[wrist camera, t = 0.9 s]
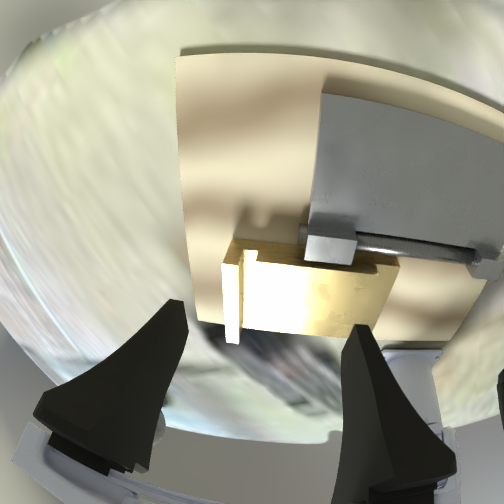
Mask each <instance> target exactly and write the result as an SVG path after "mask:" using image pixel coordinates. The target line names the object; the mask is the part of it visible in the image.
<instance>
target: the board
mask: <svg viewBox="0 0 504 504" xmlns="http://www.w3.org/2000/svg"><path fill="white" fill-rule="evenodd" d="M175 80H176V113H177V134H178V151H179V165H180V178H181V190H182V201H183V211H184V220H185V230H186V238H187V247H188V255H189V262H190V270H191V277H192V284H193V291H194V298H195V304H196V311H197V317H198V320H200V321H206V322H212V323H219V324H225V310H224V293H223V274H222V263H223V260H224V258H225V255H226V252H227V250H228V247H229V245H230V242H231V240H232V238H235V239H244V240H254V241H263V242H272V243H282V244H291V245H297V239H298V229H299V223H304V224H307V217H308V210H309V203H310V195H311V187H312V178H313V170H314V161H315V152H316V142H317V132H318V121H319V110H320V98H321V92H324V93H331V94H338V95H344V96H350V97H356V98H361V99H367V100H372V101H376V102H381V103H385V104H390V105H394V106H398V107H402V108H406V109H410V110H413V111H417V112H421V113H424V114H427V115H431V116H434V117H437V118H440V119H443V120H446V121H449V122H452V123H455V124H458V125H461V126H463V127H466V128H469V129H471V130H474V131H476V132H479V133H481V134H484V135H486V136H488V137H491V138H493V139H495V140H497V141H500V142H502V143H504V113H502V112H500V111H498V110H496V109H494V108H492V107H490V106H488V105H486V104H484V103H482V102H479V101H477V100H475V99H473V98H470V97H468V96H466V95H463V94H461V93H458V92H456V91H453V90H451V89H448V88H445V87H443V86H440V85H437V84H434V83H431V82H428V81H425V80H422V79H419V78H415V77H412V76H409V75H405V74H402V73H398V72H394V71H390V70H386V69H382V68H378V67H373V66H368V65H364V64H359V63H353V62H348V61H342V60H335V59H328V58H321V57H312V56H302V55H291V54H274V53H217V54H201V55H189V56H179V57H175ZM300 246H304V245H300ZM503 248H504V246H503ZM503 248H502V250H501V252H500V253H502V251H503ZM355 252H356V251H355ZM361 253H365V252H361ZM369 254H373V253H369ZM378 255H381V254H378ZM386 256H389V255H386ZM394 257H397V259H398V261H399V264H400V266H401V267H400V270H399V273H398V275H397V278H396V280H395V282H394V285H393V287H392V290H391V292H390V294H389V297H388V299H387V301H386V303H385V306H384V308H383V310H382V312H381V314H380V317H379V319H378V321H377V323H376V325H375V327H374V329H373V331H372V333H373V336H374V338H375V340H402V341H450V339H451V338H452V337H453V335H454V334H455V332H456V331H457V329H458V328H459V326H460V325H461V324H462V322H463V320H464V319H465V317H466V316H467V314H468V313H469V311H470V310H471V308H472V306H473V305H474V303H475V301H476V300H477V298H478V296H479V295H480V293H481V291H482V289H483V288H484V286H485V284H486V282H487V280H484V279H475V278H472V277H471V275H470V273H469V272H468V270H467V268H466V267H465V265H460V264H453V263H445V262H437V261H430V260H422V259H414V258H406V257H398V256H394Z"/></svg>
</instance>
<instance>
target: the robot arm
mask: <svg viewBox="0 0 504 504" xmlns="http://www.w3.org/2000/svg"><path fill="white" fill-rule="evenodd" d="M188 333H189V330H188V324H187V319H186V314H185V308H184V302H183V301H179V300H173V299H169V300H168V301H167V302H166V303H165V304H164V305H163V306H162V307H161V308H160V310H159V311H158V312H157V313H156V314H155V315H154V316H153V317H152V318H151V319H150V320H149V321H148V322H147V323H146V324H145V325H144V326H143V327H142V328H141V329H140V330H139V331H138V332H137V333H136V334H134V335H133V336H132V337H131V338H130V339H129V340H128V341H127V342H126V343H124V344H123V345H122V346H121V347H120V348H119V349H117V350H116V351H115V352H114V353H112V354H111V355H110V356H108V357H107V358H106V359H104V360H103V361H102V362H100V363H99V364H97V365H96V366H94V367H93V368H91V369H90V370H88V371H87V372H85V373H83V374H81V375H79V376H78V377H76V378H74V379H72V380H70V381H68V382H66V383H64V384H62V385H60V386H58V387H55V388H53V389H51V390H48V391H46V392H44V393H43V395H42V397H41V399H40V400H39V402H38V404H37V406H36V408H35V410H34V412H33V416H34V417H35V418H36V419H37V420H38V421H40V422H41V423H42V424H44V425H45V426H46V427H47V428H49V429H50V430H51V431H53V432H52V434H51V435H49V434H47V433H46V432H44V431H43V430H41V429H40V428H38V427H37V426H35V425H34V424H32V423H31V422H28V424H27V426H26V428H25V430H24V432H23V434H22V437H21V439H20V441H19V443H18V446H17V448H16V450H15V452H14V455H13V457H12V462H13V463H15V464H16V465H17V466H18V467H19V468H21V469H22V470H23V471H24V472H25V473H27V474H28V475H29V476H30V477H32V478H33V479H34V480H35V481H37V482H38V483H39V484H40V485H42V486H43V487H44V488H45V489H47V490H48V491H49V492H50V493H52V494H53V495H54V496H56V497H57V498H58V499H60V500H61V501H62V502H64V503H65V504H154V503H152V502H148V501H145V500H142V499H140V498H139V497H138V495H137V493H139V494H141V495H144V496H147V497H150V498H152V499H155V500H158V501H161V502H165V503H168V504H225V503H219V502H215V501H210V500H205V499H201V498H196V497H192V496H188V495H184V494H181V493H178V492H174V491H171V490H167V489H164V488H161V487H158V486H155V485H152V484H149V483H146V482H143V481H141V480H138V479H135V478H133V477H130V476H128V475H125V474H124V473H125V471H127V472H130V473H132V472H133V471H136V472H139V473H145V472H147V471H148V470H149V463H150V457H151V451H152V445H153V441H154V436H155V431H156V427H157V423H158V419H159V415H160V411H161V408H162V404H163V401H164V398H165V395H166V392H167V390H168V387H169V385H170V382H171V380H172V378H173V375H174V373H175V370H176V368H177V366H178V363H179V361H180V358H181V356H182V354H183V351H184V347H185V344H186V340H187V337H188ZM442 354H443V352H442V350H389V349H386V350H383V351H381V350H380V348H379V346H378V344H377V342H376V340H375V338H374V336H373V333H372V331H371V329H370V327H369V326H368V325H364V324H354V326H353V328H352V331H351V333H350V335H349V337H348V339H347V342H346V344H345V346H344V348H343V350H342V353H341V386H342V402H343V436H342V447H341V454H340V462H339V468H338V474H337V479H336V484H335V488H334V493H333V497H332V500H331V504H461V495H460V494H461V493H460V492H461V491H460V484H461V483H460V472H461V466H460V454H459V447H458V441H457V436H456V432H455V430H454V429H453V428H450V426H448V427H445V428H444V427H443V425H442V421H441V415H440V409H439V403H438V398H437V393H436V388H435V384H434V379H433V375H432V370H431V368H432V367H433V365H434V364H435V363H436V362H437V361H438V359H439V358H440V357H441V355H442ZM442 485H443V486H442ZM439 486H442V487H440V488H438V489H437V487H439Z"/></svg>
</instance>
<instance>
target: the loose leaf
mask: <svg viewBox="0 0 504 504" xmlns="http://www.w3.org/2000/svg"><path fill="white" fill-rule="evenodd" d="M400 267H401V266H400V264H399V261H398V259H397V257H394V256H386V255H378V254H369V253H361V252H355V253H354V256H353V260H352V264H351V265H346V264H337V263H327V262H318V261H309V260H304V246H300V245H291V244H282V243H272V242H263V241H254V240H244V239H235V238H232V240H231V242H230V245H229V247H228V250H227V252H226V255H225V258H224V260H223V263H222V274H223V293H224V310H225V326H226V341H227V342H231V343H238V344H239V340H240V336H241V332H242V328H243V327H246V328H253V329H261V330H269V331H277V332H286V333H295V334H305V335H316V336H328V337H341V338H348V337H349V335H350V333H351V331H352V328H353V326H354V324H364V325H368V326H369V327H370V329H371V331H373V329H374V327H375V325H376V323H377V321H378V319H379V317H380V314H381V312H382V310H383V308H384V306H385V303H386V301H387V299H388V297H389V294H390V292H391V290H392V287H393V285H394V282H395V280H396V278H397V275H398V273H399V270H400Z"/></svg>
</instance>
